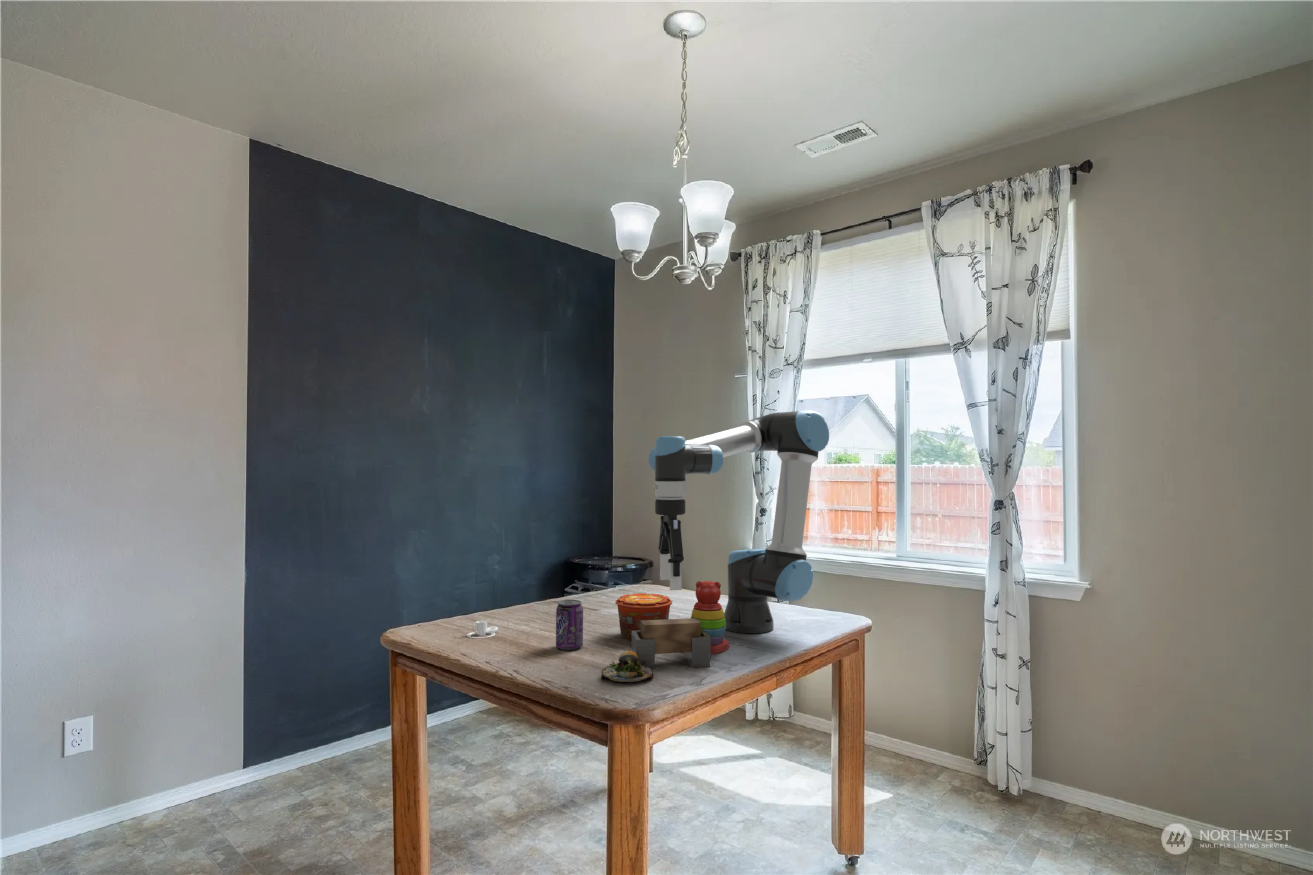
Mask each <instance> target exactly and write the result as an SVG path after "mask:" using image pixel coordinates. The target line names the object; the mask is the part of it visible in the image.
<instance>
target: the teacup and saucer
mask: <svg viewBox="0 0 1313 875" xmlns="http://www.w3.org/2000/svg"><path fill="white" fill-rule="evenodd" d="M474 626H475V629H474ZM471 628H472V632H469V633H467V634H466V637H467V638H471V639H486V638H491V637H494V636H495V635H496V633H497V632H498V631H499V628H498V626H494V625H492V626H489V627H488V621H487V620H476V621H475V623H474V624H472V625H471ZM473 634H476V635H477V636H472V635H473ZM486 634H487V635H489V636H486ZM471 636H472V637H471Z"/></svg>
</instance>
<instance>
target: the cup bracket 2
mask: <svg viewBox="0 0 1313 875" xmlns="http://www.w3.org/2000/svg"><path fill="white" fill-rule="evenodd" d="M684 658H685V660H686V661H687V663H688V665H689V666H691V669H692V668H694V669H695V668H710V667H711V654H710V636H709V635H708V634H707V633H706V632H705V631H704V630H703V629H702V628H701V637H691V652H687V653H684Z"/></svg>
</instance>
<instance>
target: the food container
mask: <svg viewBox="0 0 1313 875" xmlns="http://www.w3.org/2000/svg"><path fill="white" fill-rule="evenodd" d="M615 605H617V613H618V622H619V629H620V637H621V638H622V639H624V640H626V641H628V642H632V631H638V630H641V620H664V619H670V617H669V616H670V609H671V606H672V605H673V600H671V598H670V597H669V596H667V595H663V594H658V593H657V594H656V593H645V592H644V593H642V592H640V593H633V594H629V593H628V594H627V593H626V594H622V595H620V596H619V597H618V598H617V599H615Z"/></svg>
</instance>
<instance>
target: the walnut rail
mask: <svg viewBox="0 0 1313 875" xmlns="http://www.w3.org/2000/svg"><path fill="white" fill-rule="evenodd" d="M691 637H701V622H699V621H698V620H697V619H696V618H691V617H690V618H669V619H664V620H641V639H648V638H654V639H655V655H661V654H663V655H666V654H683V653H684V654H685V653H687V652H691Z"/></svg>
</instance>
